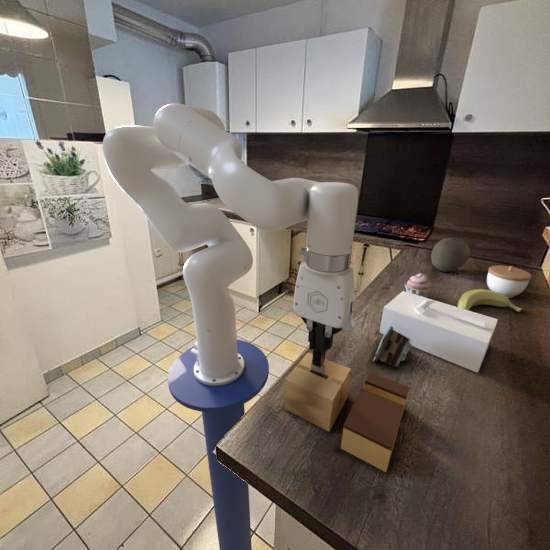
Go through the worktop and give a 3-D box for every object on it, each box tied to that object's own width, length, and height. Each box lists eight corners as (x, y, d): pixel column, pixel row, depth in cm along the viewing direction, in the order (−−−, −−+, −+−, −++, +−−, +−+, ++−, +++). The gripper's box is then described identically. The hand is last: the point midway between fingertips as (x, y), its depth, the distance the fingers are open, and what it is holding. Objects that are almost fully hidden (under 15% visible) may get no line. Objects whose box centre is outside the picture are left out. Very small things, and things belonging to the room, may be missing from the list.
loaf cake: (340, 448, 52) (343, 424, 50) (358, 410, 60) (361, 388, 58) (386, 472, 49) (391, 448, 46) (398, 428, 56) (404, 405, 54)
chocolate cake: (400, 377, 70) (422, 333, 72) (373, 361, 72) (394, 319, 74) (393, 377, 78) (412, 338, 81) (368, 362, 81) (388, 325, 83)
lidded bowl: (474, 288, 114) (482, 262, 110) (498, 284, 117) (507, 259, 113) (505, 303, 103) (516, 274, 99) (531, 298, 106) (542, 271, 102)
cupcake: (397, 297, 107) (402, 272, 103) (410, 290, 113) (415, 266, 109) (422, 307, 101) (428, 280, 97) (434, 299, 106) (441, 273, 102)
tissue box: (398, 314, 96) (404, 284, 92) (488, 346, 80) (500, 311, 76) (379, 332, 86) (384, 300, 82) (477, 372, 71) (491, 335, 66)
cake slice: (361, 402, 62) (365, 380, 60) (365, 393, 65) (369, 371, 62) (401, 419, 58) (406, 396, 56) (404, 409, 61) (409, 387, 58)
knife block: (284, 409, 60) (285, 379, 57) (306, 379, 68) (307, 352, 65) (329, 432, 56) (332, 400, 52) (347, 397, 63) (351, 368, 60)
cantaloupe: (449, 278, 122) (458, 244, 117) (421, 267, 134) (428, 236, 128) (471, 273, 128) (480, 240, 122) (442, 263, 140) (449, 232, 134)
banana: (457, 280, 104) (521, 293, 99) (451, 291, 107) (512, 305, 103) (464, 305, 93) (535, 322, 89) (456, 317, 97) (524, 334, 93)
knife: (307, 395, 61) (311, 325, 54) (311, 388, 63) (316, 319, 56) (320, 401, 60) (326, 330, 53) (324, 394, 61) (331, 324, 54)
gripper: (276, 256, 50) (275, 344, 57) (367, 277, 42) (352, 375, 50) (297, 245, 56) (293, 326, 63) (380, 262, 48) (365, 352, 56)
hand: (319, 347), depth 56 cm, fingers closed on knife, 1 cm apart
